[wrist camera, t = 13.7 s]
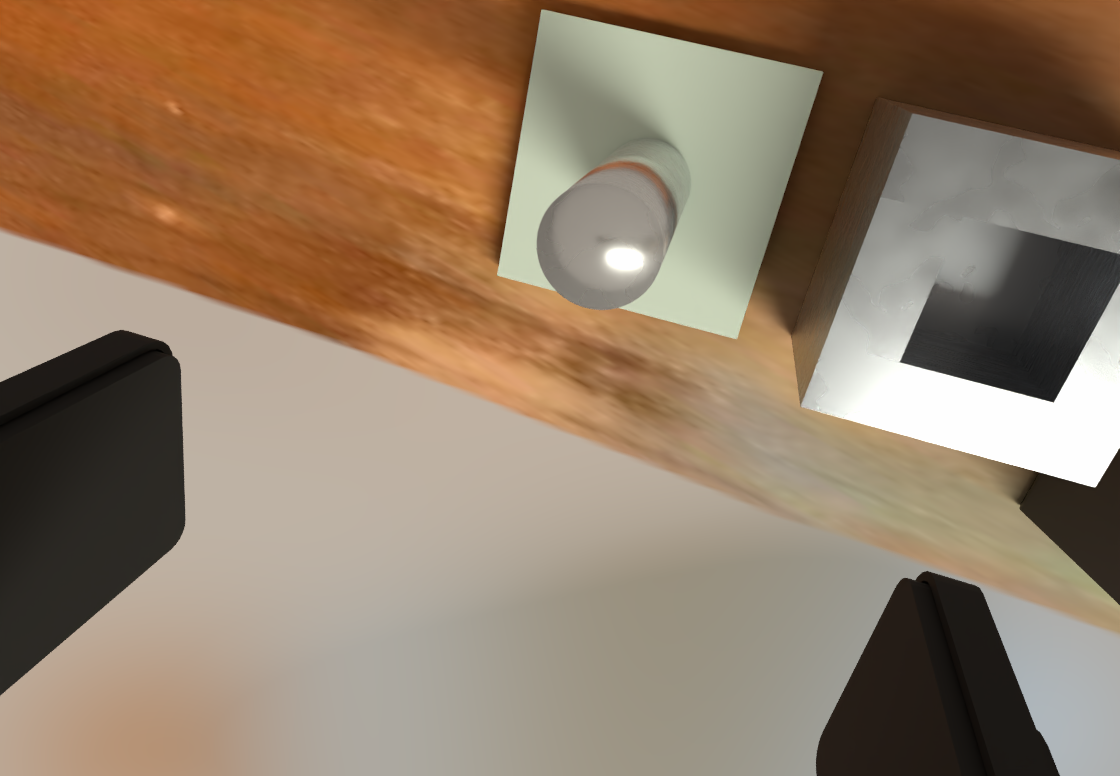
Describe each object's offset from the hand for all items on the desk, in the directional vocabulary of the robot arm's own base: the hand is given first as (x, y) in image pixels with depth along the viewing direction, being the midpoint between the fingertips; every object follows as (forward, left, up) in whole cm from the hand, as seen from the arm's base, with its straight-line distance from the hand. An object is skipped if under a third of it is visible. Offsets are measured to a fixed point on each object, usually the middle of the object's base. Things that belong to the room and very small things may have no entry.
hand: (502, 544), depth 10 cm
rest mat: (+2, 0, -29) cm, 29 cm away
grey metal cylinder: (+2, 0, -28) cm, 28 cm away
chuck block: (-12, 0, -29) cm, 31 cm away
